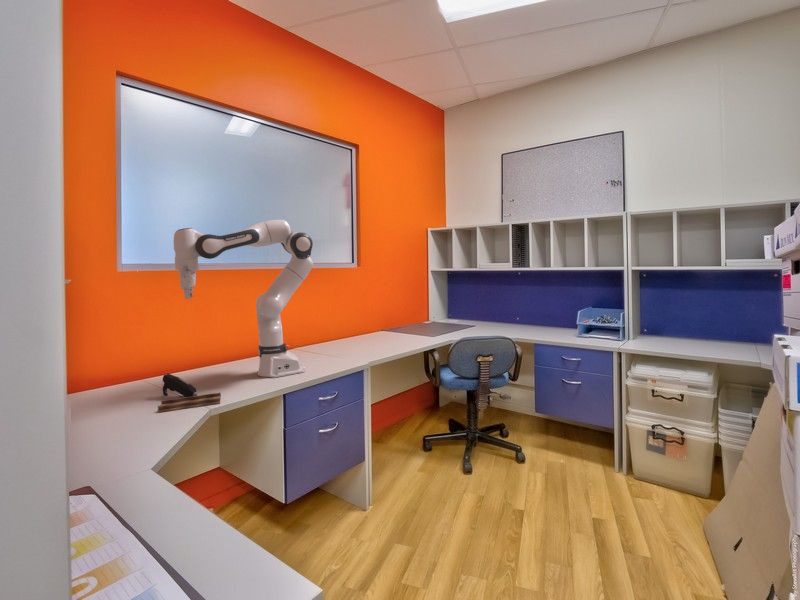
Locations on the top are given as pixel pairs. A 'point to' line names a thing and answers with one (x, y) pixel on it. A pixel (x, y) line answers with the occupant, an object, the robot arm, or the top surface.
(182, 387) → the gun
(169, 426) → the top surface
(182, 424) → the top surface
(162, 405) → the walnut stand
